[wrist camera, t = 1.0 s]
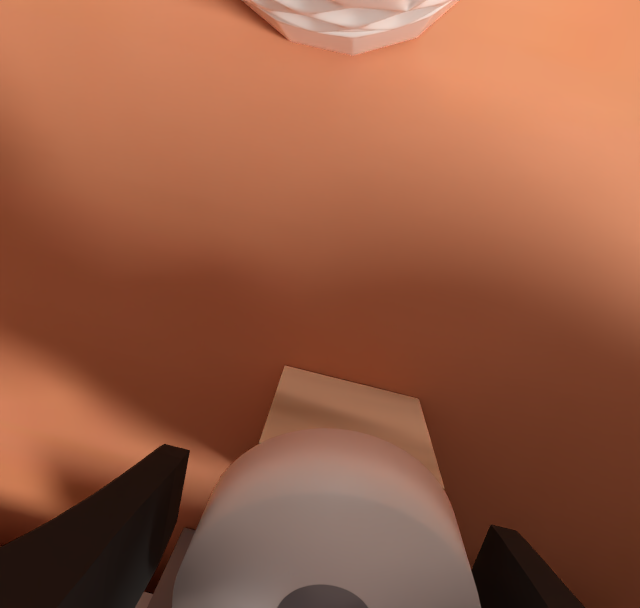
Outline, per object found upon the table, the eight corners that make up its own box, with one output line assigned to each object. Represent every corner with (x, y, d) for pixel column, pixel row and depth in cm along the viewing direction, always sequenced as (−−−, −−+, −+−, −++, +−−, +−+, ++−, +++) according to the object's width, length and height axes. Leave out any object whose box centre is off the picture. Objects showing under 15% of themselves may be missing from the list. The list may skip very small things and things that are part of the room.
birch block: (381, 509, 15) (391, 628, 11) (257, 479, 15) (225, 588, 11) (418, 398, 14) (444, 488, 10) (284, 365, 14) (259, 442, 10)
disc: (360, 672, 12) (362, 774, 10) (161, 559, 11) (120, 644, 9) (512, 518, 10) (550, 603, 8) (290, 378, 9) (275, 433, 8)
